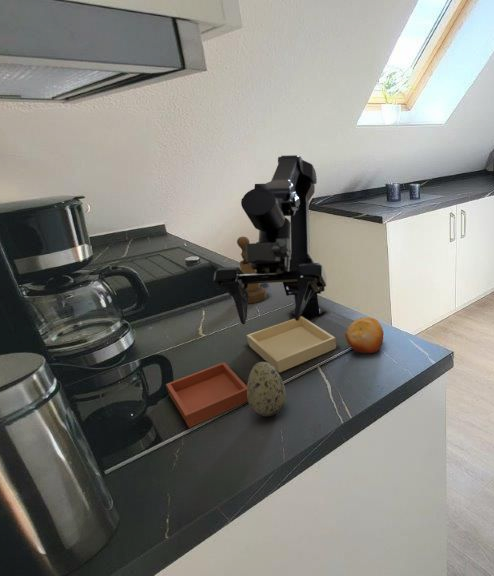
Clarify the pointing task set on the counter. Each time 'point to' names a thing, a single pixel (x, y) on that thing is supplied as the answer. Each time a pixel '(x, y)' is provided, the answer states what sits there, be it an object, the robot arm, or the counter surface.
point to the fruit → (365, 335)
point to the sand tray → (291, 343)
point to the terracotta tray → (207, 393)
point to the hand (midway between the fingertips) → (270, 321)
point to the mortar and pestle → (254, 290)
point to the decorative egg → (265, 390)
